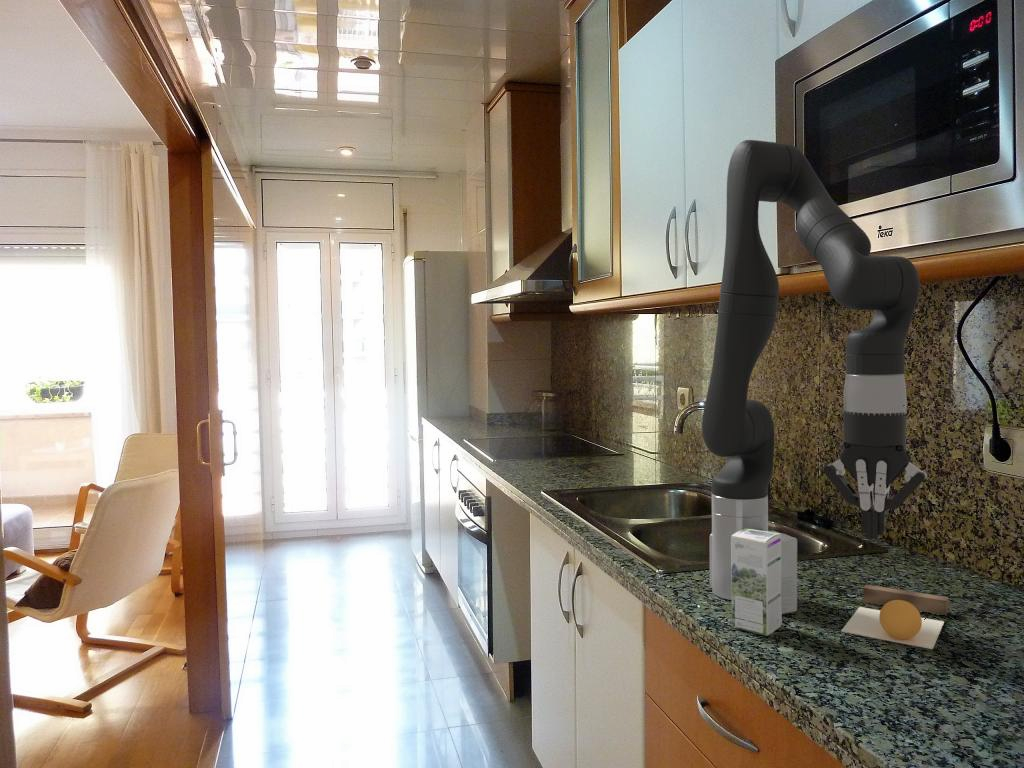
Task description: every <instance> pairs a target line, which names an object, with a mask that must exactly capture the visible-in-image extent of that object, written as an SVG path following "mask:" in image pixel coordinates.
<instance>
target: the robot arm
mask: <svg viewBox="0 0 1024 768" xmlns="http://www.w3.org/2000/svg"><path fill="white" fill-rule="evenodd" d="M728 164H729V165H728V168H727V177H726V212H725V213H726V214H725V215H726V216H725V217H726V223H725V224H726V225H725V228H726V229H725V247H724V258H723V268H722V269H723V270H722V277H721V284H720V291H719V299H718V300H719V301H718V309H717V310H718V311H717V324H716V326H717V327H716V335H715V336H716V337H715V344H714V350H713V351H714V352H713V359H712V366H711V372H710V378H709V383H708V388H707V393H706V398H705V403H704V407H703V412H702V419H701V434H702V435H701V436H702V438H703V442H704V444H705V446H706V448H707V449H708V450H709V452H711V453H712V454H713V455H715V456H716V457H720V458H724V457H725V458H726V461H725V464H724V465H723V467H722V468H721V469H720V470H719V471H718V472H717V473H716V474H714V475H713V477H712V479H711V533H710V534H709V538H708V539H709V588H711V589H712V590H711V591H712V593H713V595H715V596H717V597H719V598H721V599H725V600H729V601H730V600H731V601H732V575H731V571H732V570H731V535H733V534H735V533H736V532H738V531H740V530H743V529H753V530H760V531H769V511H768V510H769V495H768V493H769V485H770V482H771V481H772V478H773V473H774V458H775V456H774V454H775V438H776V437H775V425H774V421H773V416H772V413H771V411H770V410H769V409H768V407H767V406H766V405H765V404H764V403H762V402H760V401H758V400H755V399H748V391H749V385H750V380H751V377H752V374H753V371H754V368H755V366H756V364H757V361H758V360H759V358H760V356H761V354H762V353H763V351H764V349H765V347H766V346H767V344H768V342H769V339H770V338H771V335H772V333H773V331H774V328H775V324H776V320H777V313H778V304H779V303H778V302H779V295H780V294H779V293H780V283H779V279H778V276H777V273H776V270H775V267H774V264H773V263H772V261H771V259H770V256H769V254H768V252H767V250H766V248H765V246H764V242H763V240H762V237H761V233H760V225H759V208H760V207H759V204H760V202H766V203H767V202H768V203H778V202H779V203H782V204H784V205H786V206H787V207H789V208H791V209H792V210H793V211H795V213H796V214H797V217H796V224H795V226H796V232H797V233H796V234H797V236H798V239H799V241H800V242H801V244H802V246H803V247H804V249H806V250H807V252H808V253H809V254H810V255H811V257H812V258H813V259H814V260H815V261H816V262H817V263H818V264H819V265H820V266H821V269H822V271H823V275H824V277H825V280H826V283H827V285H828V288H829V291H830V294H831V296H832V298H833V299H834V301H835V302H837V304H840V306H843V307H844V308H846V309H849V310H853V311H874V313H873V316H872V319H871V321H870V324H869V325H867V326H866V327H863V328H859V329H856V330H854V331H852V332H850V333H849V334H848V335H847V337H846V342H845V380H844V387H843V447H842V449H841V451H840V453H839V458H838V459H837V460H835V461H834V462H832V463H831V462H830V463H829V464H827V465H825V466H824V467H823V469H822V470H823V473H824V474H825V476H826V477H827V479H828V480H829V481H830V482H831V483H832V484H833V486H834V488H835V489H836V490H837V491H838V492H839V494H840V495H841V496H842V498H843V499H844V500H845V501H846V503H847V504H848V505H854V506H856V507H858V508H859V509H860V530H861V533H862V534H865V538H866V539H870V540H871V539H872V540H873V539H874V540H880V538H881V537H882V536H884V535H885V533H886V531H887V511H888V510H892V509H894V510H895V509H898V508H899V507H900V506H901V505H902V504H903V503H904V502H905V501H906V500H907V499H908V498H909V497H910V496H911V495H912V494H913V492H914V491H915V490H916V489H917V488H919V486H920V485H921V484H922V483H923V482H924V481H926V479H927V478H928V475H929V474H928V472H927V471H926V470H923V469H920V468H918V467H917V466H916V465H914V464H913V462H911V456H910V454H909V452H908V449H907V408H908V400H907V385H906V379H905V378H906V377H905V362H906V361H905V355H906V354H905V344H906V343H905V342H906V339H907V336H908V333H909V330H910V327H911V323H912V320H913V317H914V313H915V310H916V307H917V303H918V301H919V295H920V290H921V289H920V288H921V286H920V285H921V283H920V282H921V281H920V277H919V273H918V270H917V268H916V267H915V265H914V263H913V262H912V261H911V260H910V259H909V258H906V257H904V256H898V255H892V256H891V255H888V256H887V255H885V256H884V255H880V256H879V255H876V256H875V255H870V254H871V251H872V244H871V240H870V238H869V236H868V235H867V233H866V232H865V231H864V229H863V228H861V227H860V225H858V224H857V223H856V222H855V221H854V220H853V219H852V218H851V217H850V216H849V215H848V214H847V213H846V212H844V210H843V209H842V208H841V207H840V206H839V205H838V204H837V203H836V202H835V201H834V199H833V198H832V196H831V195H830V194H829V192H828V190H827V189H826V187H825V186H824V184H823V183H822V181H821V179H820V177H819V176H818V175H817V173H816V172H815V170H814V168H813V167H812V165H811V163H810V162H809V160H808V158H807V157H806V156H805V155H804V153H803V152H802V151H801V150H800V148H798V147H797V146H795V145H793V144H788V143H784V142H783V143H782V142H776V141H775V142H774V141H766V140H765V141H763V140H756V139H745V140H743V141H741V142H739V143H738V144H737V146H736V147H735V148H734V150H733V151H732V154H731V156H730V160H729V163H728ZM846 471H848V473H849V474H850V476H851V477H852V478H853V480H854V482H855V481H856V483H857V490H858V491H857V490H856V489H855V487H853V486H852V484H851V483H850V481H849V480H848V479H847V478H846V476H845V474H846ZM904 471H905V475H904V481H905V482H906V484H904V486H903V487H902V488H900V490H899V491H898V492H897V493H896V494H895V495H894V496H892V497H889V495H890V494H889V493H890V489H891V484H893V483H894V482H895V481H897V479H898V477H899V476H900V475H902V473H903V472H904Z"/></svg>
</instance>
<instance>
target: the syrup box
mask: <svg viewBox="0 0 1024 768" xmlns="http://www.w3.org/2000/svg"><path fill="white" fill-rule="evenodd" d="M779 533H780V532H779ZM779 533H773V532H766V531H760V530H753V529H743V530H740V531H738V532H736V533H735V534H733V535H731V570H732V571H731V575H732V600H731V628H733V629H737V630H741V631H746V632H747V633H748V632H749V633H751V634H752V633H753V634H757V635H761V636H765V637H767V636H769V635H771V634H773V633H774V632H775V631H776V630H778V629H780V627H782V625H783V620H782V619H783V618H782V615H783V614H782V613H781V534H779Z"/></svg>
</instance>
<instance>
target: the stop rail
mask: <svg viewBox="0 0 1024 768" xmlns="http://www.w3.org/2000/svg"><path fill="white" fill-rule="evenodd" d="M893 600H903V601H907V602H909V603H911V604H912V605H913V606H914V607H915V608H916V609H917V610H918V611H924V612H930V613H935V614H940V615H946V617H947V616H948V614H947V613H949V597H948V596H942V595H937V594H932V593H931V594H929V593H923V592H916V591H912V590H911V591H909V590H904V589H899V588H898V589H897V588H892V587H891V588H890V587H884V586H878V585H872V584H865V585H864V586H863V589H862V603H864V604H868V603H870V604H869V605H874V604H877V605H876V606H880V605H885V604H886V603H888V602H890V601H893Z"/></svg>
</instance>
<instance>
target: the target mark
mask: <svg viewBox="0 0 1024 768" xmlns="http://www.w3.org/2000/svg"><path fill="white" fill-rule="evenodd" d="M880 611H881V609H874V608H868V607H862V606H859V607H858V608H856V611H855V613H853V614H852V616H851V617H850V618H849V620H848V621H847V622H846V624H845V625H844V627H843V628H842V629H841V633H846V634H851V635H856V636H861V637H866V638H867V637H868V638H872V639H878V640H882V641H887V642H893V643H898V644H904V645H908V646H913V647H920V648H923V649H924V648H925V649H929V650H933V649H934V647H935V645H936V644H937V643H936V642H937V640H938V638H939V636H940V634H941V632H942V629H943V627H942V626H944V624H945V621H943V620H937V619H934V618H932V619H931V618H926V617H921V619H922V626H921V629H920V631H919V632H918V634H917V635H915V636H914V637H912V638H910V639H897V638H894V637H892V636H890V635H889V634H887V633H886V632H885V631H884V629H883V628H882V626H881V624H880V619H879V615H880ZM925 618H926V619H925ZM924 619H925V620H924Z"/></svg>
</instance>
